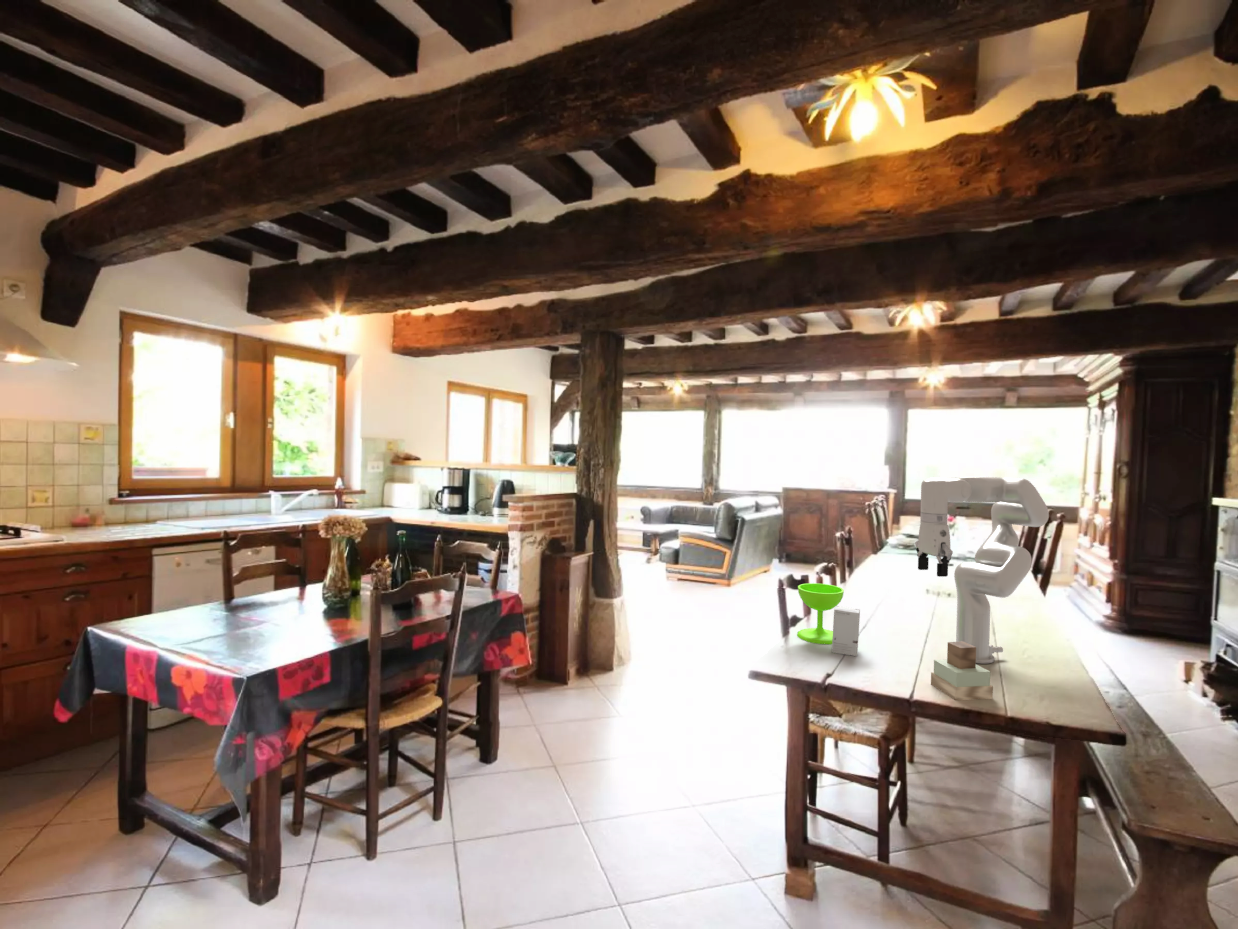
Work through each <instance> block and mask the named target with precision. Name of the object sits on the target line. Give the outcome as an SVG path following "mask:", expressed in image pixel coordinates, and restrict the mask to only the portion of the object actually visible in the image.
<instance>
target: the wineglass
mask: <svg viewBox="0 0 1238 929" xmlns="http://www.w3.org/2000/svg"><path fill="white" fill-rule="evenodd" d="M797 591H798V592H797V593H798V594H799V597H800V599H801V600H802V602H803V603H804V604H805V605H806V606H807V607H809V608H810V609H812V610H815V611H817V613H816V614H817V615H816V616H817V617H816V618H817V620H816V621H817V622H816V627H811V628H808V627H807V628H802V629H800V630H799V631H798V632H797V634H796V636H797V638H799V639H800V640H802V641H804V642H808V643H812V644H818V645H832V639H833V630H829V629H825V628H824V627H823V626H824V624H823V623H824V619H823V618H824V612H825V611H830V610H832V609H835V606H838V605H839V604H840V603H841V601H842V599H843V597H844V591H845V589H844V588H842V587H840V586H838V585H833V584H826V583H819V582H818V583H814V582H813V583H812V582H811V583H808V582H807V583H802V584H799V585H797Z"/></svg>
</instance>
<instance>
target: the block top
mask: <svg viewBox="0 0 1238 929" xmlns="http://www.w3.org/2000/svg"><path fill="white" fill-rule="evenodd" d="M933 672H934V674H936V675H937V676H939V677H941V678H942V679H944V680H946V681H947V682H949V683H951V684H952V685H954V686H955V687H973V686H990V685H991V671H990V670H988V669H986V668H984V667H982V666H980V665H978V663H976V668H970V669H959V668H957V667H955V666H953V665H951V664H949V663H947V658H946V659H934V660H933Z"/></svg>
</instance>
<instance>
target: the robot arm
mask: <svg viewBox="0 0 1238 929" xmlns="http://www.w3.org/2000/svg"><path fill="white" fill-rule="evenodd" d="M963 502H964V503H977V504H980V503H982V504H983V503H984V504H985V503H993V504H992V506H991V508H990V509H991V510H990V516H991V532H990V534H989V535H988V537H987V538H986V539H985V541H984V542H983V543H982V544H981V545H980V547H979V548H978V549H977V551H976V552H975V555H974V561H965V562H962V563H960V564H958V565H957V566H956V567H955V570H954V575H953V577H954V583H955V588H956V631H955V642H960V641H963V642H966V643H968V644H970V645H972V646H975V647H976V664H992V663H994V662H995V656H994V655H993V654H995V653H997V654H998V653H1003V651H1004V648H1003V647H1002V646H994V645H993V644H990V634H991V630H990V629H991V605H990V601H989V599H988V597H987V596H992V597H996V598H1001V599H1004V598H1008V597H1010V596H1011V595H1012V594H1013V593H1014V592H1015V591H1016V590H1017V588H1018V587H1019V586H1020V584H1021V583H1022V582H1023V580H1024V579H1025V578H1026V577H1027V575H1028V574H1029V572H1030V570H1031V567H1032V560H1033V559H1032V555H1031V552H1029V551H1028V550H1027V549H1026V547H1023V546H1019V543H1020V541H1019V537H1018V534H1017V532H1016V531H1015V529H1014V527H1013V525H1016V526H1023V527H1030V528H1031V527H1032V528H1039V527H1042V526H1043V527H1044V525H1045V524H1047V523H1048V521H1049V515H1050V514H1049V513H1050V511H1049V508H1048V506H1047V504H1046V503H1045V501H1044V500H1043V497H1042V496H1041V494H1040V493H1039V491H1038V490H1037V487H1035V485H1033V483H1031V481H1029V480H1028V479H1025V478H1020V477H1019V478H1018V477H1017V478H1016V477H1001V476H999V477H998V476H995V477H994V476H992V477H989V476H964V477H934V476H933V477H929V478H927V479H924V480H922V482H921V486H920V517H919V518H920V521H919V522H920V524H919V530H918V540H916V541H915V542H914V544H915V550H916V553H917V554H916V556H917V569H918V570H919V571H928V570H929V556H933V557H936V559H937V562H938V563H936V576H937V577H940V578H941V577H942V578H943V577H948V574H949V565H950V561H951V560H952V556H953V553H954V552H953V550H952V549H951V534H950V532H951V531H950V527H949V524H948V519H949V518H948V517H949V516H948V515H949V514H948V513H949V512H948V508H949V507H948V506H949V503H955V504H956V503H963Z"/></svg>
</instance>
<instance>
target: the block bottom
mask: <svg viewBox="0 0 1238 929" xmlns="http://www.w3.org/2000/svg"><path fill="white" fill-rule="evenodd" d="M931 685H932V686H933V687H934V688H936V689H938V690H939V691H941V692H942V693H943V694H945V695H947V696H949V697H950V698H951V699H953V700H955V701H968V700H970V701H972V700H993V698H994V697H993V694H994V686H993V685H991V684H990V686H973V687H955V686H954V685H952V684H951V683H949V682H947V681H946V680H944V679H942V678H941V677H939V676H937V675H936V674H934V671H933V672H932V671H931V672H930V686H931Z"/></svg>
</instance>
